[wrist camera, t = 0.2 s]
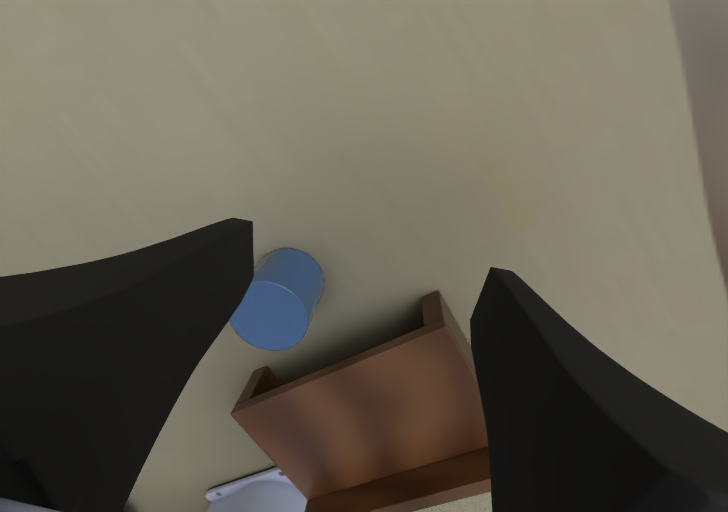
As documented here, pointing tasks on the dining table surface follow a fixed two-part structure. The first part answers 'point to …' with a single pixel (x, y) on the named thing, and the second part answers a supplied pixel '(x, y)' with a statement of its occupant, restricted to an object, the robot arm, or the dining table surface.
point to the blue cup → (279, 300)
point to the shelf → (378, 423)
